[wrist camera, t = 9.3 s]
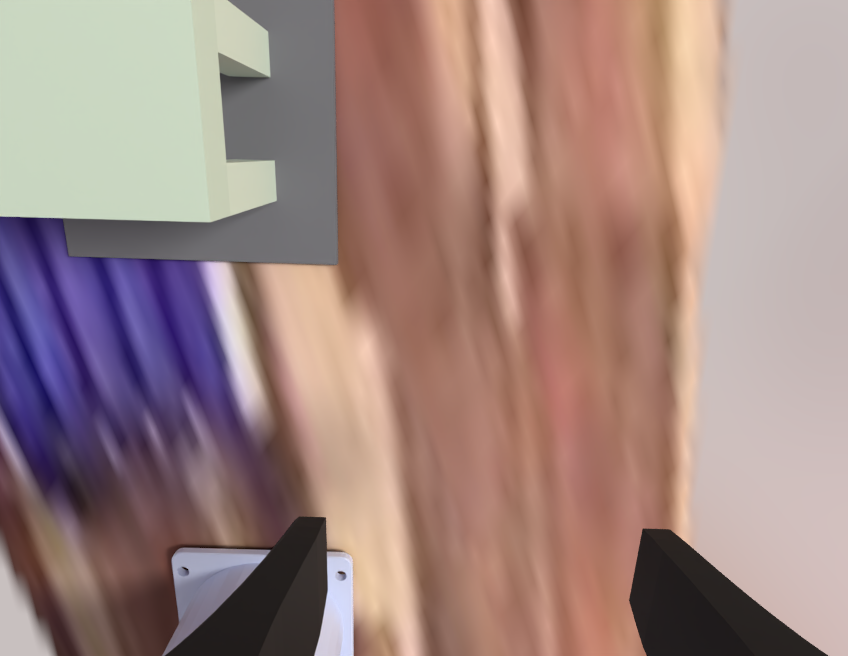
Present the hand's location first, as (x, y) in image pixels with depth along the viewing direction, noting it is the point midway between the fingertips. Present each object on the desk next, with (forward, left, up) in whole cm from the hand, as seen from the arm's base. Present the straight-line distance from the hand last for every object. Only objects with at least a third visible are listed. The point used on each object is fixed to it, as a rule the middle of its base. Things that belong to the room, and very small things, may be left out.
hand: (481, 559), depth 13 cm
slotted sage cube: (+10, +10, -10) cm, 17 cm away
